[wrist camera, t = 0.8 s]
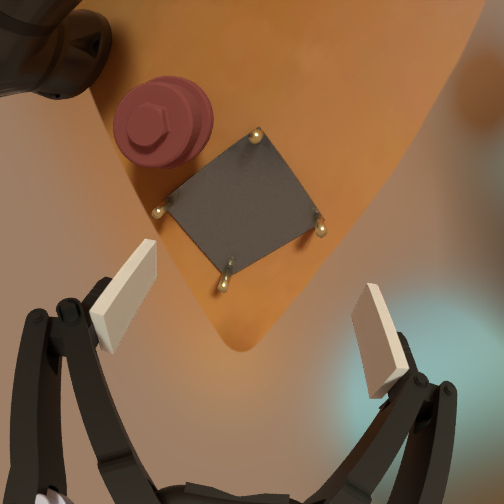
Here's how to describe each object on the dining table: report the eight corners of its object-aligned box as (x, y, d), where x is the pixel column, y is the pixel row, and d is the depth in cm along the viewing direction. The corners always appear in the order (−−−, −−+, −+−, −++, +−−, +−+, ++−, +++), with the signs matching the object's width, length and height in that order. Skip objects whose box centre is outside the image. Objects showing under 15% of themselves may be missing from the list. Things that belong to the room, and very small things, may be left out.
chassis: (162, 201, 38) (149, 212, 34) (259, 126, 32) (256, 128, 28) (227, 276, 43) (221, 294, 39) (324, 219, 37) (329, 233, 33)
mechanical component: (231, 148, 33) (160, 161, 35) (219, 74, 29) (147, 92, 30) (207, 169, 23) (112, 187, 24) (188, 58, 18) (92, 92, 20)
